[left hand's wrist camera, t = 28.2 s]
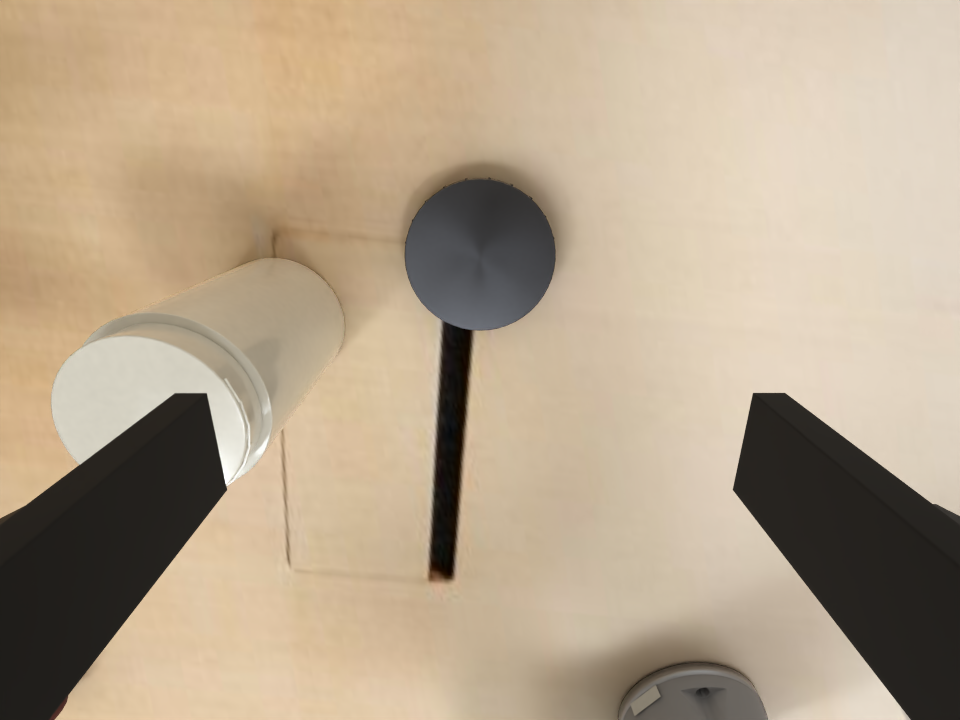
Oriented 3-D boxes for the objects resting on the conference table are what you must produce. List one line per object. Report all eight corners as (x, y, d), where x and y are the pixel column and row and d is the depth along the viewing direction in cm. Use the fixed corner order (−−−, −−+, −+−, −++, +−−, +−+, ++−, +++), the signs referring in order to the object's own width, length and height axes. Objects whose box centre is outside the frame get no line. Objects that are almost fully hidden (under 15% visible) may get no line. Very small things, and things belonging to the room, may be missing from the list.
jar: (260, 397, 43) (127, 538, 27) (190, 288, 40) (-9, 375, 23) (367, 352, 42) (295, 473, 25) (304, 236, 38) (175, 289, 22)
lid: (535, 159, 36) (538, 158, 34) (565, 303, 40) (569, 311, 38) (389, 199, 37) (383, 201, 35) (431, 336, 41) (429, 346, 39)
